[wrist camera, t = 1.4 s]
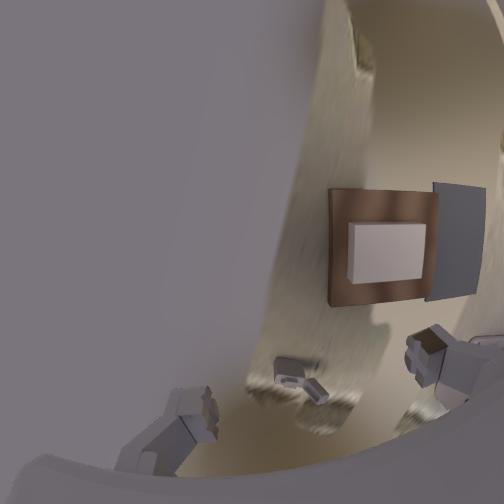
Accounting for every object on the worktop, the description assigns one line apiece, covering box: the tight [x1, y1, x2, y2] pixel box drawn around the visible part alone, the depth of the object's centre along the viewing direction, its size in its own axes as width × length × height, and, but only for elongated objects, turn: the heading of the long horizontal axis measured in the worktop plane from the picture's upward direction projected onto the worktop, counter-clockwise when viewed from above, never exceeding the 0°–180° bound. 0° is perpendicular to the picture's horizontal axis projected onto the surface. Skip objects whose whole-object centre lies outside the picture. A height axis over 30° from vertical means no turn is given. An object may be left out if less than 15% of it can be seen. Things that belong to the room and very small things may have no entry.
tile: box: [347, 222, 426, 284], centre depth 31 cm, size 10×7×2 cm
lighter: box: [274, 357, 329, 405], centre depth 35 cm, size 7×2×8 cm, turn 77°
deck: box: [328, 189, 439, 307], centre depth 33 cm, size 16×15×2 cm
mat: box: [424, 182, 486, 302], centre depth 33 cm, size 12×18×1 cm
